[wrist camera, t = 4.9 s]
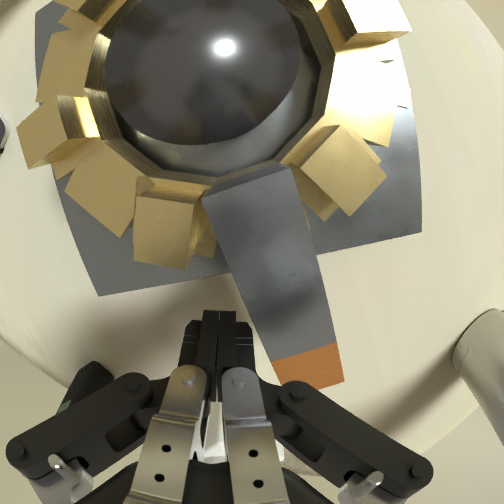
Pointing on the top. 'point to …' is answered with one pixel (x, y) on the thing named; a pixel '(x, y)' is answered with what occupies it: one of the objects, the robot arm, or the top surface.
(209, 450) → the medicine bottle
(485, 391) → the robot arm
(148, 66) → the domed button plate
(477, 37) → the top surface
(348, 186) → the segmented ring
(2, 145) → the notebook
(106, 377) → the walkie-talkie
